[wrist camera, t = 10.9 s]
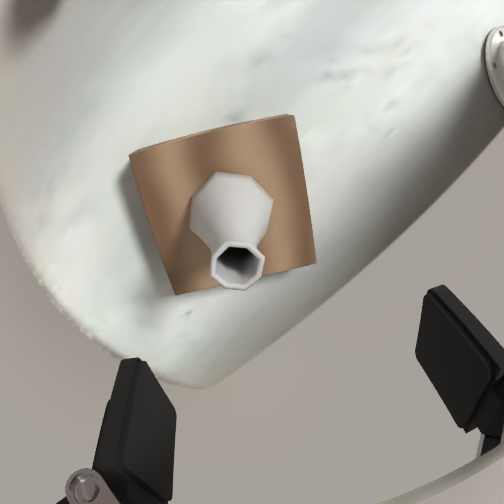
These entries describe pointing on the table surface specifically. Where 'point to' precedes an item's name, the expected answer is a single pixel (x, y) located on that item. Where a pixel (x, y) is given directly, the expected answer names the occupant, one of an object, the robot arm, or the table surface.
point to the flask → (232, 227)
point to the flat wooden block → (236, 162)
